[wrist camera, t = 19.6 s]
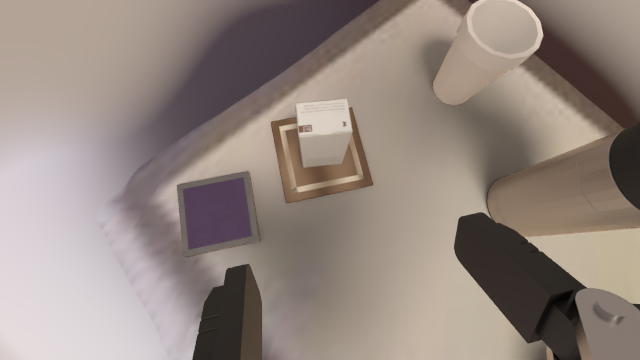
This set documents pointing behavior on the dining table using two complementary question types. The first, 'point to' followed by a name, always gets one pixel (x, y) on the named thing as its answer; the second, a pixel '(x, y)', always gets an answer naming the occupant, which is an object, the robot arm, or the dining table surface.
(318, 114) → the skincare box
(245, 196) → the ink pad
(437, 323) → the dining table surface
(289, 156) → the marked board
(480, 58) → the foam cup
